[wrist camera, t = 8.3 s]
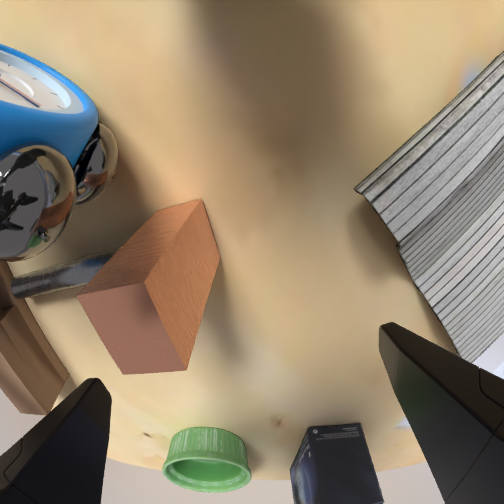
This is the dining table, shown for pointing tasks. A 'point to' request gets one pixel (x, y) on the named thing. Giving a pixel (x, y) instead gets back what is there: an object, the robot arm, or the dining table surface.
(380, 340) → the robot arm
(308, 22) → the dining table surface
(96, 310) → the pin
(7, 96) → the alarm clock
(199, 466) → the ramekin
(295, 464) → the small box
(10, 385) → the beam
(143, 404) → the dining table surface
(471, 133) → the mat
